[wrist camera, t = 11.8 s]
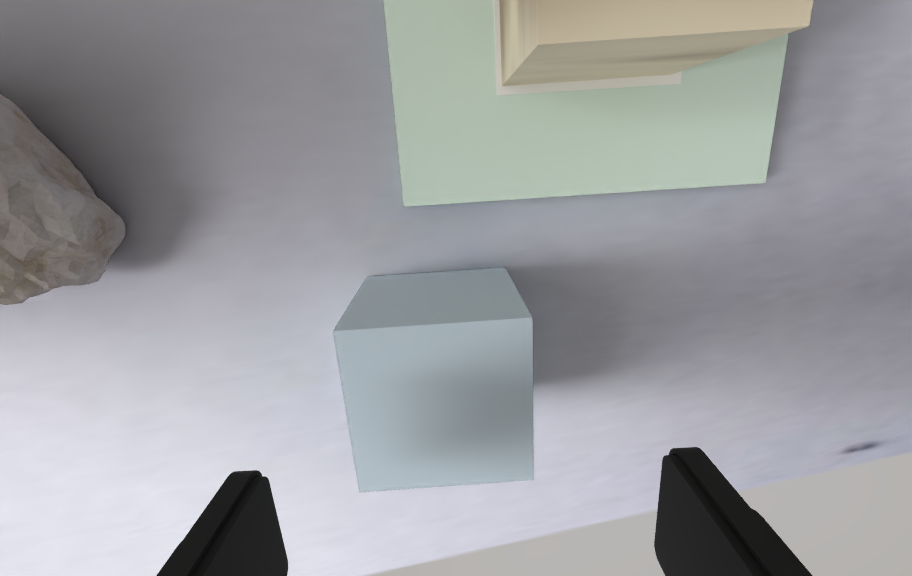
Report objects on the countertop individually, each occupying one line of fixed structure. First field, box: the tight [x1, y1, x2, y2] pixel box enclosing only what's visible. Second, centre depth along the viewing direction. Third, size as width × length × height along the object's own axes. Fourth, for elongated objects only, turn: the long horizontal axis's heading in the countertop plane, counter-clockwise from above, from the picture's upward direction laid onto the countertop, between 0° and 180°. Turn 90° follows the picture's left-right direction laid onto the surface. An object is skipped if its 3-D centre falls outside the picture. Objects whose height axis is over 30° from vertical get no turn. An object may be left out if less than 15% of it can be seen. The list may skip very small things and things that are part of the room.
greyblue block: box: [333, 267, 534, 492], centre depth 16 cm, size 6×6×6 cm
